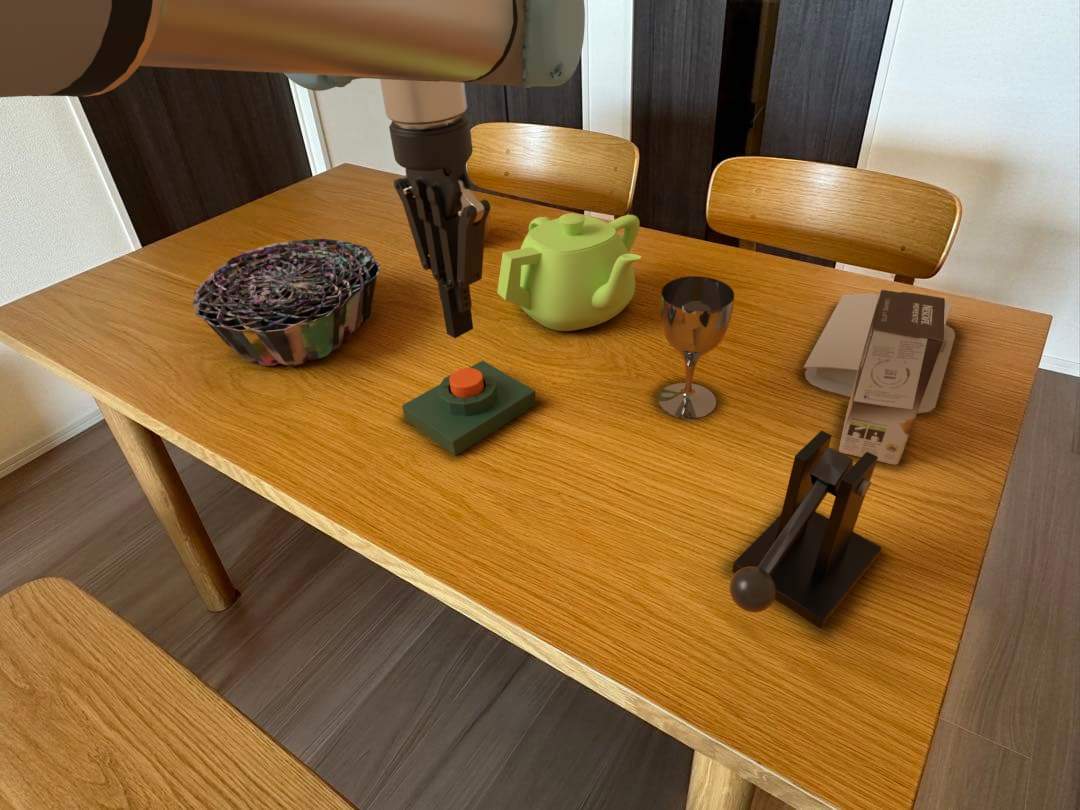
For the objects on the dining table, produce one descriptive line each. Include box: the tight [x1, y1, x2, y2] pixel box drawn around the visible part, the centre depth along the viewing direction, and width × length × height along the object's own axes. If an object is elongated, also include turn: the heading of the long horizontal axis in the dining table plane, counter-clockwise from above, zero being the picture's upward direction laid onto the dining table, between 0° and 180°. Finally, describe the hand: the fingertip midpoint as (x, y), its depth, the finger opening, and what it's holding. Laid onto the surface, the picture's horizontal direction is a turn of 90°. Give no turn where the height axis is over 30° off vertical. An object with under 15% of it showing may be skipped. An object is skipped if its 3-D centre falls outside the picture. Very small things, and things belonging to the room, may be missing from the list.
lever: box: [729, 446, 854, 613], centre depth 57 cm, size 15×4×4 cm, turn 134°
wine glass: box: [657, 275, 735, 419], centre depth 81 cm, size 8×8×15 cm
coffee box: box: [838, 289, 946, 466], centre depth 74 cm, size 9×6×16 cm
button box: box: [401, 360, 537, 457], centre depth 85 cm, size 13×10×4 cm
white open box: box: [803, 292, 956, 415], centre depth 90 cm, size 15×23×4 cm, turn 148°
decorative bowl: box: [192, 238, 382, 368], centre depth 102 cm, size 26×28×10 cm
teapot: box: [496, 212, 642, 332], centre depth 100 cm, size 19×20×14 cm
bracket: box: [731, 430, 883, 629], centre depth 61 cm, size 11×9×14 cm
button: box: [449, 367, 484, 398], centre depth 84 cm, size 4×4×2 cm
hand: (460, 331), depth 79 cm, fingers closed
